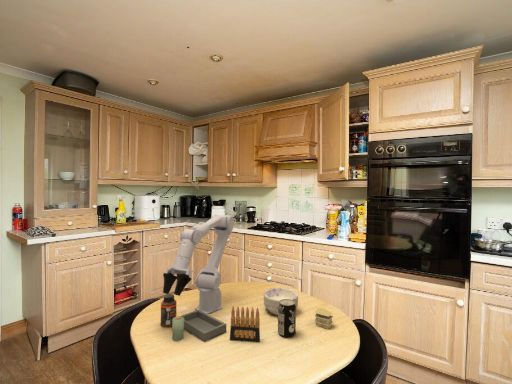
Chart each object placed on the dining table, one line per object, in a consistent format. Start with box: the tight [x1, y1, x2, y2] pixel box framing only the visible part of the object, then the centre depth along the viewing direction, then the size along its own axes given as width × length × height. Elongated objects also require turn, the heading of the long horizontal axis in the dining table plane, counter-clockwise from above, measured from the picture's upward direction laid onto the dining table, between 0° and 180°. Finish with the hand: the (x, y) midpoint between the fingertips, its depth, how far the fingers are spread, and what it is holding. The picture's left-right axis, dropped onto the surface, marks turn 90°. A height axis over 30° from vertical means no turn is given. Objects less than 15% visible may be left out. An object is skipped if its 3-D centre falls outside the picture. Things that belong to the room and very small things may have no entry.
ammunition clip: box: [229, 305, 261, 343], centre depth 101 cm, size 11×2×12 cm, turn 84°
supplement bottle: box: [160, 293, 177, 328], centre depth 112 cm, size 6×6×11 cm
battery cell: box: [171, 315, 185, 342], centre depth 102 cm, size 4×4×8 cm
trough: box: [181, 309, 227, 343], centre depth 109 cm, size 10×18×3 cm, turn 47°
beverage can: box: [277, 299, 297, 338], centre depth 106 cm, size 7×7×12 cm
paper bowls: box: [263, 287, 299, 316], centre depth 126 cm, size 15×15×8 cm
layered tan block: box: [314, 307, 334, 330], centre depth 113 cm, size 10×9×6 cm
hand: (171, 294), depth 104 cm, fingers open, 7 cm apart
